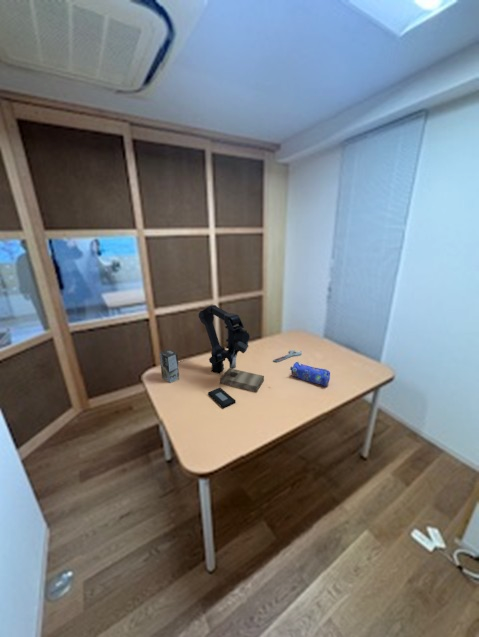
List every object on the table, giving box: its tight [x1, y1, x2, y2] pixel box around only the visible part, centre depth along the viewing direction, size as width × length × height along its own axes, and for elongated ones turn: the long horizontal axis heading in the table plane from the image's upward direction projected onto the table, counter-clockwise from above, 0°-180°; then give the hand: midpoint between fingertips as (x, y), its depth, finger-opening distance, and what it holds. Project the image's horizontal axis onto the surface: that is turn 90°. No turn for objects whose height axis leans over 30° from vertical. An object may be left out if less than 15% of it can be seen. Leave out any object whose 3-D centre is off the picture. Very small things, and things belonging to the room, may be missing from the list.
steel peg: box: [228, 353, 237, 369], centre depth 146 cm, size 4×4×8 cm
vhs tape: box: [207, 387, 236, 409], centre depth 132 cm, size 8×14×2 cm, turn 37°
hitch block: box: [219, 367, 265, 393], centre depth 147 cm, size 22×12×4 cm, turn 67°
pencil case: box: [289, 361, 331, 387], centre depth 149 cm, size 22×9×10 cm, turn 58°
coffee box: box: [159, 349, 180, 384], centre depth 148 cm, size 9×6×16 cm
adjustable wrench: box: [272, 349, 303, 363], centre depth 179 cm, size 8×26×2 cm, turn 121°
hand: (232, 362), depth 146 cm, fingers closed on steel peg, 4 cm apart
